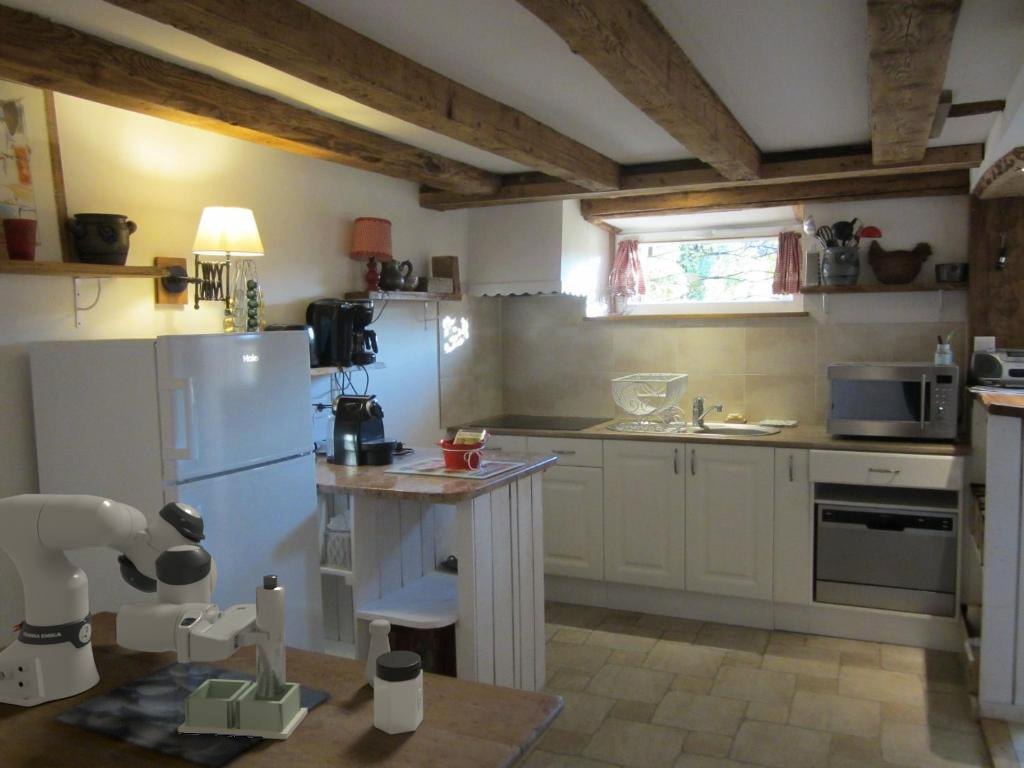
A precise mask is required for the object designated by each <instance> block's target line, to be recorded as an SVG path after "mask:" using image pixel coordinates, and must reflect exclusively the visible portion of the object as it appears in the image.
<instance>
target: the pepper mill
mask: <svg viewBox="0 0 1024 768" xmlns="http://www.w3.org/2000/svg"><path fill="white" fill-rule="evenodd" d="M262 579H263V581H262V583H263V584H261V585H259V586H256V588H255V604H256V633H258V632H260V631H264V632H265V631H268V632H269V633H270V636H269V637H270V640H269V641H268V642H267V643H266V644H255V645H256V681H257V694H258V695H259V696H262V697H273V696H278V695H280V694H282V693H284V692H285V690H286V683H287V682H286V681H287V680H286V674H287V673H286V671H287V670H286V586H285V585H284V584H282V583H278V575H277V574H266V575H264V576H263V578H262Z"/></svg>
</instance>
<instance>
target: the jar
mask: <svg viewBox="0 0 1024 768" xmlns="http://www.w3.org/2000/svg"><path fill="white" fill-rule="evenodd" d="M423 671H424V670H423V669H422V658H421V655H419V654H418V653H416V652H414V651H409V650H393V651H390V652H387V653H384V654H382V655H380V656H379V657H378V658H377V659H376V675H375V676H374V688H373V719H374V720H373V726H374V727H375V728H377V729H378V730H380V731H383V732H385V733H387V734H389V735H396V734H403V733H409V732H414V731H416V730H417V728H419V726H420V724H422V721H423V719H424V686H423V685H424V681H423V680H424V679H423V678H424V675H423V674H424V672H423Z"/></svg>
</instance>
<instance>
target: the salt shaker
mask: <svg viewBox="0 0 1024 768" xmlns="http://www.w3.org/2000/svg"><path fill="white" fill-rule="evenodd" d="M368 631H369V634H370V635H371V636H370V637H371V638H370V645H369V649H368V655H367V661H366V667H365V672H364V673H365V679H366V680H367V681H368V684H369V685H370V687H371V688H372V689H374V676H375V675H376V659H377V658H378V657H379V656H380V655H382V654H384V653H387V652H391V647H390V642H389V641H390V640H389V636H388V634H390V632H391V624H390V621H388V620H386V619H374V620H372V621H371V622H370V623H369V625H368Z"/></svg>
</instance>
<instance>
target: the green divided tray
mask: <svg viewBox="0 0 1024 768" xmlns="http://www.w3.org/2000/svg"><path fill="white" fill-rule="evenodd" d="M301 686H302V685H301V683H300V682H286V690H285V692H284V693H282V694H280V695H278V696H273V697H262V696H259V695H258V694H257V680H256V681H255V682H253V680H244V679H243V680H242V679H241V680H239V679H222V678H221V679H220V678H208V679H206V680H205V681H204V682H203V683H201V685H199V686H197V688H196V689H194V690H193V691H192V692H191V693H190V694H188V695H187V696H186V697H185V698H184V717H185V718H184V721H183V723H181V724H180V725H179V726H178V727H177V733H178V732H184V733H217V734H229V735H230V734H236V735H250V736H251V735H252V736H262V737H263V738H262V739H271V740H272V739H277V740H287V739H289V737H291V735H292V733H294V731H295V730H296V729H297V727H298V726H299V724H301V722H302V721H303V720H304V718H305V717H306V715H308V707H301V705H302V704H301V703H302V702H301V701H302V697H301V694H302V693H301V690H302V689H301Z"/></svg>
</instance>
